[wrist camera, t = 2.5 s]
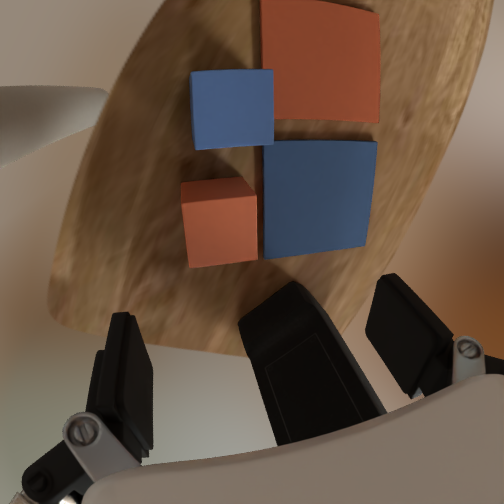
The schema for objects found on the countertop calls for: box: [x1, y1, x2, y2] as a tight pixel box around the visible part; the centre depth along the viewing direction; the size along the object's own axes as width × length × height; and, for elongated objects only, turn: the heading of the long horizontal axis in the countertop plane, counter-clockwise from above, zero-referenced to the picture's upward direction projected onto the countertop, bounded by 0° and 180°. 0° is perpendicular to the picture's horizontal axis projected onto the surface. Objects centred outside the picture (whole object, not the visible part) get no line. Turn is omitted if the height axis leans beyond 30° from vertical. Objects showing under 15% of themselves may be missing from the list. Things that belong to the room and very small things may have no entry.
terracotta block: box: [181, 176, 258, 268], centre depth 19 cm, size 4×4×4 cm
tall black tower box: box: [238, 282, 387, 446], centre depth 17 cm, size 8×6×25 cm
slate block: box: [189, 69, 274, 150], centre depth 16 cm, size 4×4×4 cm
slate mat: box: [262, 140, 377, 260], centre depth 23 cm, size 9×9×1 cm
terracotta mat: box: [260, 0, 380, 123], centre depth 17 cm, size 9×9×1 cm
